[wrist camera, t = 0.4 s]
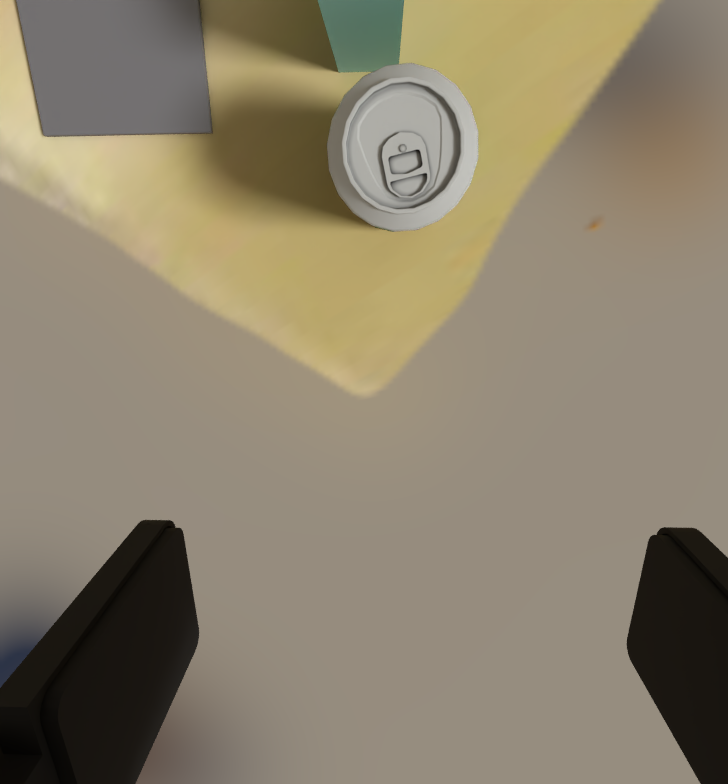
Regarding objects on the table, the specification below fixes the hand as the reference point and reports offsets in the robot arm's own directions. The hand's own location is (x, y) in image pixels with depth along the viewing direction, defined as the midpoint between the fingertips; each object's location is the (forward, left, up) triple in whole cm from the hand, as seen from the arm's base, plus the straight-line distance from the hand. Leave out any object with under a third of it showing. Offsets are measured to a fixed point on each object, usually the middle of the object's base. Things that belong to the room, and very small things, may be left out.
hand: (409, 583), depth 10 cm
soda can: (-10, 0, -29) cm, 31 cm away
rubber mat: (-19, -19, -29) cm, 40 cm away
